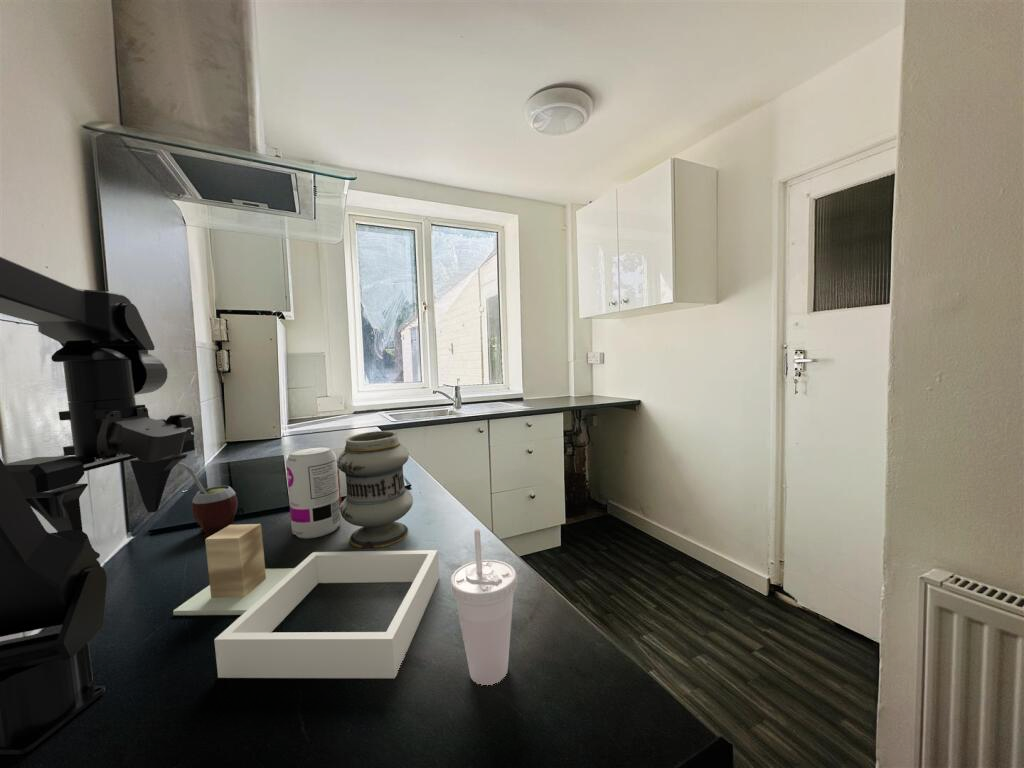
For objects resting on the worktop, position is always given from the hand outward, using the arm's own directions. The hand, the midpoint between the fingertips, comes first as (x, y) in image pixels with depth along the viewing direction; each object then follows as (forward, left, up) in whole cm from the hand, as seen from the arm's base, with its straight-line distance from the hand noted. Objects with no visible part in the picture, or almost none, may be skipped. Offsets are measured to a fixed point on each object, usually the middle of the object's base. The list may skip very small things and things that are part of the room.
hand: (117, 526), depth 50 cm
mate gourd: (+26, +10, -12) cm, 30 cm away
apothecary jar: (+23, -23, -12) cm, 35 cm away
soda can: (+36, -6, -12) cm, 38 cm away
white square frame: (0, -28, -12) cm, 30 cm away
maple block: (+6, -10, -11) cm, 16 cm away
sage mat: (+6, -10, -12) cm, 17 cm away
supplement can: (+26, -10, -12) cm, 30 cm away
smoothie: (-8, -46, -12) cm, 48 cm away
